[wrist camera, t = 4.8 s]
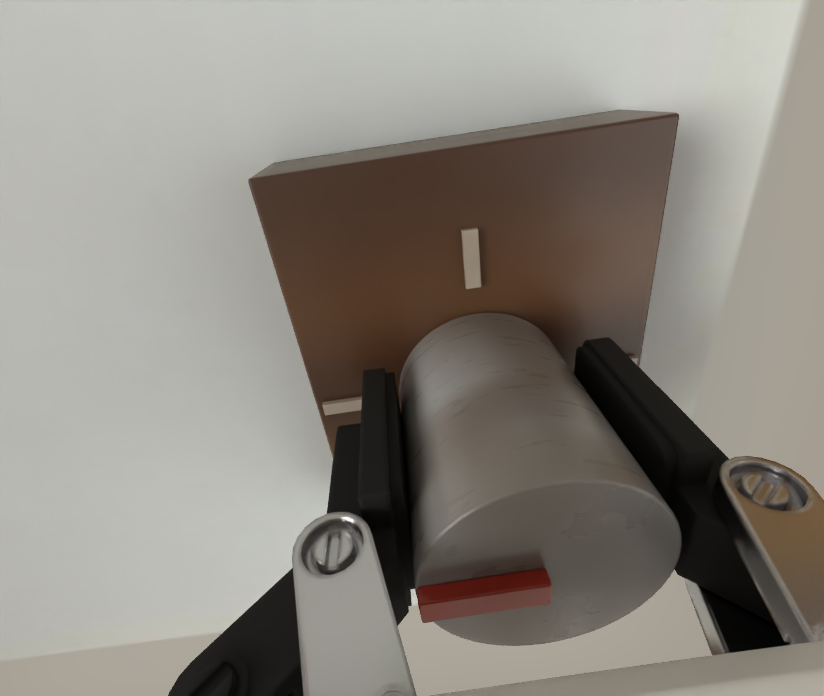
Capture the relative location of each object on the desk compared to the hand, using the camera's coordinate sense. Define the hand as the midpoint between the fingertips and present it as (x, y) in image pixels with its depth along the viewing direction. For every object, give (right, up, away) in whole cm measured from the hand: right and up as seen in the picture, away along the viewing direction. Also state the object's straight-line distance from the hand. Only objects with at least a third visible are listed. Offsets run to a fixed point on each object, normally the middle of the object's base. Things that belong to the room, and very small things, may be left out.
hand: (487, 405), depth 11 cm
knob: (0, +1, +1) cm, 1 cm away
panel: (0, +2, +3) cm, 4 cm away
